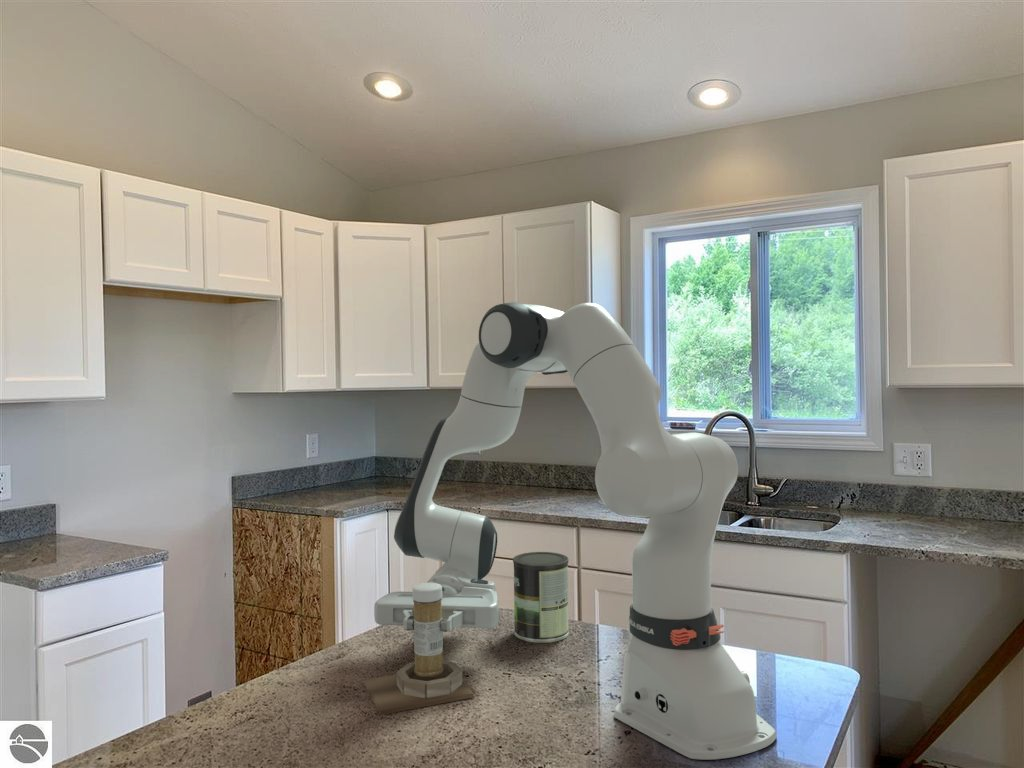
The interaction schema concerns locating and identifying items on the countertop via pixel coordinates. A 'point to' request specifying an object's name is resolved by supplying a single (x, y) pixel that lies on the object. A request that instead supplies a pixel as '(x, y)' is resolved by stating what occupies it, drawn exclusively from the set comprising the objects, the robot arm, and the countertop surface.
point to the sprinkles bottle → (428, 629)
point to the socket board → (406, 702)
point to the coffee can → (541, 597)
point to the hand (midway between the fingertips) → (426, 626)
